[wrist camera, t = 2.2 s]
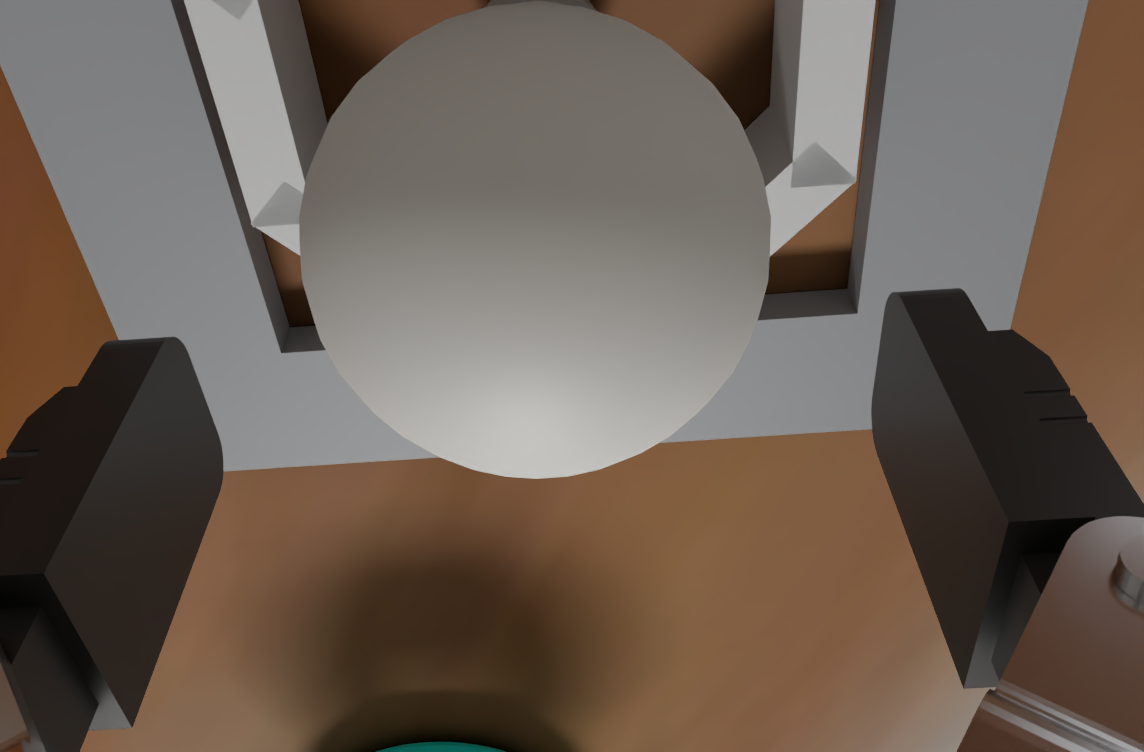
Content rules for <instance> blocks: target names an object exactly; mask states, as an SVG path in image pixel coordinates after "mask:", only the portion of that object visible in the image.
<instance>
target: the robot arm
mask: <svg viewBox="0 0 1144 752" xmlns="http://www.w3.org/2000/svg"><path fill="white" fill-rule="evenodd" d="M871 419H872V432H873V438H874V444H875V448H876V452H877V455H878V458H879V460H880V463H881V466H882V469H883V471H884V474H885V477H886V479H887V482H888V485H889V488H890V490H891V493H892V496H893V498H894V501H895V504H896V507H897V509H898V512H899V515H900V517H901V520H902V523H903V525H904V528H905V531H906V534H907V536H908V539H909V542H910V544H911V547H912V550H913V553H914V555H915V558H916V561H917V563H918V566H919V569H920V572H921V574H922V577H923V580H924V582H925V585H926V588H927V591H928V593H929V596H930V599H931V601H932V604H933V607H934V610H935V612H936V615H937V618H938V620H939V623H940V626H941V629H942V631H943V634H944V637H945V639H946V642H947V645H948V648H949V650H950V653H951V656H952V658H953V661H954V664H955V667H956V669H957V672H958V675H959V677H960V680H961V683H962V685H963V688H964V689H965V688H984V687H997V688H996V689H995V691H993V690H991V689H990V690H989V691H988V692H987V693H986V695H985V696H984V698H983V700H982V702H981V703H980V705H979V707H978V709H977V711H976V713H975V715H974V717H973V719H972V721H971V723H970V725H969V727H968V729H967V731H966V733H965V736H964V738H963V740H962V742H961V744H960V746H959V748H958V750H957V752H1144V504H1143V502H1142V501H1141V499H1140V498H1139V496H1138V495H1137V493H1136V491H1135V490H1134V488H1133V487H1132V485H1131V484H1130V482H1129V480H1128V479H1127V477H1126V476H1125V474H1124V473H1123V471H1122V469H1121V468H1120V466H1119V465H1118V463H1117V462H1116V460H1115V459H1114V457H1113V455H1112V454H1111V452H1110V451H1109V449H1108V448H1107V446H1106V444H1105V443H1104V441H1103V440H1102V438H1101V437H1100V435H1099V433H1098V432H1097V430H1096V429H1095V427H1094V426H1093V424H1092V423H1088V422H1087V415H1086V413H1085V412H1084V410H1083V408H1082V407H1081V405H1080V404H1079V402H1078V401H1077V399H1076V397H1075V396H1071V395H1070V388H1069V386H1068V385H1067V383H1066V382H1065V380H1064V379H1063V377H1062V375H1061V374H1060V372H1059V371H1058V369H1057V368H1056V366H1055V365H1054V363H1053V361H1052V360H1051V358H1050V357H1049V356H1048V355H1047V354H1045V353H1044V352H1042V351H1041V350H1040V349H1038V348H1037V347H1036V346H1034V345H1033V344H1031V343H1030V342H1029V341H1027V340H1026V339H1025V338H1023V337H1022V336H1020V335H1019V334H1018V333H1016V332H1015V331H1014V330H997V331H988V330H987V328H986V327H985V325H984V323H983V321H982V320H981V318H980V316H979V314H978V313H977V311H976V309H975V308H974V306H973V304H972V302H971V301H970V299H969V297H968V295H967V294H966V293H965V291H964V290H962V289H960V288H952V289H936V290H921V291H905V292H892V293H891V294H890V295H889V297H888V299H887V302H886V305H885V310H884V317H883V324H882V331H881V338H880V345H879V352H878V359H877V366H876V374H875V381H874V388H873V395H872V405H871ZM6 453H7V457H6V458H2V459H1V460H0V752H80V749H81V747H82V744H83V742H84V739H85V737H86V734H87V732H88V730H106V729H125V728H132V727H133V724H134V722H135V719H136V716H137V713H138V711H139V708H140V705H141V703H142V700H143V697H144V695H145V692H146V689H147V687H148V684H149V681H150V678H151V676H152V673H153V670H154V668H155V665H156V662H157V660H158V657H159V654H160V652H161V649H162V646H163V643H164V641H165V638H166V635H167V633H168V630H169V627H170V625H171V622H172V619H173V616H174V614H175V611H176V608H177V606H178V603H179V600H180V598H181V595H182V592H183V590H184V587H185V584H186V581H187V579H188V576H189V573H190V571H191V568H192V565H193V563H194V560H195V557H196V555H197V552H198V549H199V546H200V544H201V541H202V538H203V536H204V533H205V530H206V528H207V525H208V522H209V520H210V517H211V514H212V511H213V509H214V506H215V503H216V501H217V498H218V495H219V492H220V489H221V485H222V480H223V452H222V445H221V441H220V438H219V434H218V432H217V429H216V426H215V424H214V421H213V418H212V416H211V413H210V410H209V407H208V405H207V402H206V399H205V397H204V394H203V391H202V389H201V386H200V383H199V380H198V378H197V375H196V372H195V370H194V367H193V364H192V361H191V359H190V356H189V354H188V351H187V349H186V347H185V346H184V344H183V343H182V342H181V340H179V339H178V338H176V337H160V338H145V339H129V340H114V341H108V342H106V343H105V344H103V345H102V347H101V348H100V349H99V351H98V353H97V355H96V356H95V358H94V360H93V361H92V363H91V365H90V366H89V368H88V370H87V371H86V373H85V375H84V376H83V378H82V380H81V381H80V383H79V385H78V386H74V387H64V388H63V389H61V390H60V391H59V392H58V393H57V394H55V395H54V396H53V397H52V398H51V399H49V400H48V401H47V402H46V403H45V404H43V405H42V406H41V407H40V408H39V409H37V410H36V411H35V412H34V413H33V414H31V415H30V416H29V417H28V418H27V419H26V421H25V422H24V424H23V426H22V427H21V429H20V430H19V432H18V433H17V435H16V437H15V438H14V440H13V441H12V443H11V444H10V446H9V448H8V449H7V451H6Z"/></svg>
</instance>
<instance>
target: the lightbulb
mask: <svg viewBox="0 0 1144 752" xmlns="http://www.w3.org/2000/svg"><path fill="white" fill-rule="evenodd" d="M770 233H771V215H770V210H769V205H768V199H767V194H766V189H765V184H764V179H763V175H762V173H761V170H760V167H759V164H758V161H757V158H756V156H755V154H754V151H753V149H752V147H751V145H750V142H749V140H748V138H747V136H746V133H745V131H744V129H743V127H742V124H741V122H740V120H739V118H738V117H737V116H736V114H735V113H734V112H733V110H732V109H731V108H730V106H729V105H728V103H727V102H726V101H725V99H724V98H723V97H722V95H721V94H720V93H719V91H718V90H717V89H716V87H715V86H714V85H713V83H711V82H710V81H709V80H708V79H707V78H706V77H705V76H703V75H702V74H701V73H700V72H699V71H698V70H696V69H695V68H694V67H693V66H692V65H691V64H690V63H688V62H687V61H686V60H685V59H684V58H683V57H681V56H680V55H679V54H678V53H677V52H676V51H674V50H673V49H672V48H671V47H670V46H669V45H667V44H666V43H665V42H664V41H662V40H660V39H658V38H656V37H654V36H653V35H651V34H649V33H647V32H645V31H644V30H642V29H640V28H638V27H636V26H635V25H633V24H631V23H629V22H627V21H626V20H623V19H619V18H616V17H613V16H610V15H607V14H603V13H600V12H597V10H596V9H595V8H594V6H593V5H592V4H591V3H590V1H589V0H491V1H490V2H489V3H488V5H487V6H486V7H485V8H481V9H478V10H475V11H471V12H468V13H465V14H462V15H458V16H455V17H452V18H448V19H445V20H443V21H442V22H440V23H438V24H436V25H434V26H432V27H431V28H429V29H427V30H425V31H423V32H421V33H420V34H418V35H416V36H414V37H412V38H410V39H409V40H407V41H405V42H404V43H403V44H401V45H400V46H399V47H397V48H396V49H395V50H393V51H392V52H391V53H390V54H389V55H388V56H386V57H385V58H384V59H383V60H382V61H381V62H379V63H378V64H377V65H376V66H375V67H374V68H372V69H371V70H370V71H369V72H368V73H367V74H366V75H364V76H363V77H362V78H361V79H360V80H359V81H357V83H356V84H355V85H354V87H353V88H352V90H351V91H350V92H349V94H348V95H347V96H346V98H345V99H344V100H343V102H342V103H341V104H340V106H339V107H338V108H337V110H336V111H335V113H334V114H333V115H332V117H331V119H330V121H329V123H328V125H327V128H326V130H325V132H324V135H323V137H322V139H321V142H320V144H319V146H318V149H317V151H316V153H315V156H314V158H313V161H312V163H311V166H310V168H309V171H308V173H307V176H306V181H305V187H304V192H303V198H302V204H301V210H300V215H299V237H300V256H301V272H302V282H303V286H304V289H305V292H306V296H307V299H308V302H309V306H310V309H311V312H312V316H313V319H314V322H315V325H316V328H317V331H318V334H319V338H320V340H321V342H322V344H323V346H324V347H325V349H326V351H327V353H328V355H329V357H330V358H331V360H332V362H333V364H334V366H335V367H336V369H337V371H338V373H339V374H340V375H341V376H342V377H343V378H344V380H345V381H346V382H347V383H348V384H349V386H350V387H351V388H352V389H353V390H354V391H355V393H356V394H357V395H358V396H359V397H360V398H361V400H362V401H363V402H364V403H365V404H366V405H367V406H368V407H369V408H370V409H371V411H372V412H373V413H374V414H375V415H376V416H378V417H379V418H380V419H381V420H382V421H384V422H385V423H386V424H387V425H389V426H390V427H391V428H392V429H394V430H395V431H396V432H397V433H398V434H400V435H401V436H402V437H404V438H406V439H407V440H409V441H411V442H413V443H414V444H416V445H418V446H420V447H422V448H423V449H425V450H427V451H429V452H430V453H432V454H434V455H436V456H439V457H441V458H443V459H446V460H449V461H451V462H454V463H457V464H459V465H462V466H465V467H467V468H470V469H473V470H476V471H481V472H486V473H490V474H495V475H500V476H504V477H518V478H533V479H540V478H554V477H567V476H573V475H577V474H582V473H586V472H591V471H595V470H599V469H602V468H605V467H607V466H610V465H612V464H615V463H618V462H620V461H623V460H625V459H628V458H630V457H633V456H635V455H638V454H640V453H642V452H644V451H646V450H647V449H649V448H651V447H652V446H654V445H656V444H658V443H659V442H661V441H663V440H664V439H666V438H668V437H670V436H671V435H672V434H674V433H675V432H676V431H677V430H678V429H679V428H681V427H682V426H683V425H684V424H685V423H687V422H688V421H689V420H690V419H691V418H693V417H694V416H695V415H696V414H697V413H698V412H699V411H700V410H701V409H702V408H703V407H704V406H705V405H706V404H707V403H708V402H709V401H710V400H711V399H712V397H713V396H714V395H715V394H716V393H717V391H718V390H719V389H720V388H721V386H722V385H723V384H724V383H725V382H726V380H727V379H728V378H729V377H730V375H731V374H732V373H733V372H734V370H735V368H736V366H737V364H738V362H739V360H740V359H741V357H742V355H743V353H744V351H745V349H746V347H747V345H748V343H749V341H750V340H751V337H752V334H753V331H754V328H755V326H756V323H757V320H758V317H759V313H760V310H761V306H762V302H763V299H764V295H765V291H766V288H767V284H768V278H769V258H770Z"/></svg>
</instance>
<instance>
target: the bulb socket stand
mask: <svg viewBox="0 0 1144 752" xmlns="http://www.w3.org/2000/svg"><path fill="white" fill-rule="evenodd" d="M875 1H876V0H775V12H774V32H773V52H772V72H771V92H770V106H769V107H768V108H767V109H766V110H765V111H764V112H763V113H761V114H760V115H759V116H758V117H757V118H756V119H755V120H754V121H753V122H752V123H751V124H750V125H749V126H748V127H747V128H746V129H745V130H744V131H745V133H746V136H747V138H748V140H749V142H750V145H751V147H752V149H753V151H754V154H755V156H756V158H757V161H758V164H759V167H760V170H761V173H762V175H763V179H764V184H765V189H766V194H767V199H768V205H769V210H770V215H771V233H770V256H771V255H772V254H774V253H775V252H776V251H777V250H778V249H779V248H780V247H781V246H783V245H784V244H785V243H786V242H787V241H788V240H789V239H791V238H792V237H793V236H794V235H795V234H796V233H797V232H799V231H800V230H801V229H802V228H803V227H804V226H805V225H807V224H808V223H809V222H810V221H811V220H812V219H813V218H814V217H816V216H817V215H818V214H819V213H820V212H821V211H822V210H824V209H825V208H826V207H827V206H828V205H829V204H830V203H832V202H833V201H834V200H835V199H836V198H837V197H838V196H840V195H841V194H842V193H843V192H844V191H845V190H846V189H847V188H849V187H850V186H851V185H852V184H853V183H855V182H856V181H857V179H856V173H857V164H858V155H859V146H860V137H861V128H862V119H863V110H864V101H865V92H866V83H867V74H868V65H869V56H870V47H871V38H872V29H873V19H874V10H875ZM1087 4H1088V0H880V5H879V13H878V22H877V31H876V40H875V49H874V58H873V66H872V75H871V84H870V93H869V102H868V110H867V119H866V128H865V137H864V146H863V155H862V163H861V172H860V181H859V190H858V199H857V208H856V216H855V225H854V234H853V243H852V252H851V260H850V269H849V278H848V287H847V289H836V290H821V291H807V292H793V293H778V294H765V295H764V299H763V302H762V306H761V310H760V313H759V317H758V320H757V323H756V326H755V328H754V331H753V334H752V337H751V340H750V341H749V343H748V345H747V347H746V349H745V351H744V353H743V355H742V357H741V359H740V360H739V362H738V364H737V366H736V368H735V370H734V372H733V373H732V374H731V375H730V377H729V378H728V379H727V380H726V382H725V383H724V384H723V385H722V386H721V388H720V389H719V390H718V391H717V393H716V394H715V395H714V396H713V397H712V399H711V400H710V401H709V402H708V403H707V404H706V405H705V406H704V407H703V408H702V409H701V410H700V411H699V412H698V413H697V414H696V415H695V416H694V417H693V418H691V419H690V420H689V421H688V422H687V423H685V424H684V425H683V426H682V427H681V428H679V429H678V430H677V431H676V432H675V433H674V434H672V435H671V436H670V437H668V438H666V439H664V440H663V441H661V442H659V443H665V442H680V441H696V440H711V439H726V438H742V437H757V436H772V435H787V434H803V433H818V432H833V431H849V430H864V429H872V419H871V405H872V395H873V388H874V381H875V374H876V366H877V359H878V352H879V345H880V338H881V331H882V324H883V317H884V310H885V305H886V302H887V299H888V297H889V295H890V294H891V293H892V292H905V291H921V290H936V289H952V288H960V289H962V290H964V291H965V293H966V294H967V295H968V297H969V299H970V301H971V302H972V304H973V306H974V308H975V309H976V311H977V313H978V314H979V316H980V318H981V320H982V321H983V323H984V325H985V327H986V328H987V330H988V331H997V330H1010V327H1011V322H1012V318H1013V314H1014V310H1015V306H1016V301H1017V297H1018V293H1019V289H1020V285H1021V281H1022V276H1023V272H1024V268H1025V264H1026V260H1027V255H1028V251H1029V247H1030V243H1031V239H1032V234H1033V230H1034V226H1035V222H1036V218H1037V213H1038V209H1039V205H1040V201H1041V197H1042V192H1043V188H1044V184H1045V180H1046V176H1047V172H1048V167H1049V163H1050V159H1051V155H1052V151H1053V146H1054V142H1055V138H1056V134H1057V130H1058V125H1059V121H1060V117H1061V113H1062V109H1063V104H1064V100H1065V96H1066V92H1067V88H1068V84H1069V79H1070V75H1071V71H1072V67H1073V63H1074V58H1075V54H1076V50H1077V46H1078V42H1079V37H1080V33H1081V29H1082V25H1083V21H1084V16H1085V12H1086V8H1087ZM0 66H1V68H2V70H3V72H4V75H5V77H6V79H7V82H8V84H9V86H10V89H11V91H12V93H13V96H14V98H15V100H16V103H17V105H18V107H19V109H20V112H21V114H22V116H23V119H24V121H25V123H26V126H27V128H28V130H29V133H30V135H31V137H32V140H33V142H34V144H35V147H36V149H37V151H38V153H39V156H40V158H41V160H42V163H43V165H44V167H45V170H46V172H47V174H48V177H49V179H50V181H51V184H52V186H53V188H54V190H55V193H56V195H57V197H58V200H59V202H60V204H61V207H62V209H63V211H64V214H65V216H66V218H67V221H68V223H69V225H70V227H71V230H72V232H73V234H74V237H75V239H76V241H77V244H78V246H79V248H80V251H81V253H82V255H83V258H84V260H85V262H86V265H87V267H88V269H89V271H90V274H91V276H92V278H93V281H94V283H95V285H96V288H97V290H98V292H99V295H100V297H101V299H102V302H103V304H104V306H105V308H106V311H107V313H108V315H109V318H110V320H111V322H112V325H113V327H114V329H115V332H116V334H117V336H118V339H119V340H129V339H145V338H160V337H176V338H178V339H179V340H181V342H182V343H183V344H184V346H185V347H186V349H187V351H188V354H189V356H190V359H191V361H192V364H193V367H194V370H195V372H196V375H197V378H198V380H199V383H200V386H201V389H202V391H203V394H204V397H205V399H206V402H207V405H208V407H209V410H210V413H211V416H212V418H213V421H214V424H215V426H216V429H217V432H218V434H219V438H220V441H221V445H222V452H223V471H236V470H252V469H267V468H282V467H298V466H313V465H328V464H343V463H359V462H374V461H389V460H405V459H420V458H435V457H439V456H436V455H434V454H432V453H430V452H429V451H427V450H425V449H423V448H422V447H420V446H418V445H416V444H414V443H413V442H411V441H409V440H407V439H406V438H404V437H402V436H401V435H400V434H398V433H397V432H396V431H395V430H394V429H392V428H391V427H390V426H389V425H387V424H386V423H385V422H384V421H382V420H381V419H380V418H379V417H378V416H376V415H375V414H374V413H373V412H372V411H371V409H370V408H369V407H368V406H367V405H366V404H365V403H364V402H363V401H362V400H361V398H360V397H359V396H358V395H357V394H356V393H355V391H354V390H353V389H352V388H351V387H350V386H349V384H348V383H347V382H346V381H345V380H344V378H343V377H342V376H341V375H340V374H339V373H338V371H337V369H336V367H335V366H334V364H333V362H332V360H331V358H330V357H329V355H328V353H327V351H326V349H325V347H324V346H323V344H322V342H321V340H320V338H319V334H318V331H317V328H316V326H304V327H290V326H289V323H288V320H287V316H286V313H285V310H284V306H283V303H282V300H281V296H280V293H279V290H278V286H277V283H276V280H275V276H274V273H273V270H272V266H271V263H270V260H269V256H268V253H267V250H266V246H265V243H264V240H263V236H262V233H261V231H262V232H264V233H265V234H267V235H268V236H270V237H272V238H273V239H275V240H276V241H278V242H279V243H281V244H282V245H284V246H286V247H287V248H289V249H290V250H292V251H293V252H295V253H297V254H298V255H300V237H299V215H300V210H301V204H302V198H303V192H304V187H305V181H306V176H307V173H308V171H309V168H310V166H311V163H312V161H313V158H314V156H315V153H316V151H317V149H318V146H319V144H320V142H321V139H322V137H323V135H324V132H325V130H326V128H327V125H328V123H327V119H326V115H325V110H324V106H323V102H322V98H321V94H320V89H319V85H318V81H317V77H316V72H315V68H314V64H313V60H312V55H311V51H310V47H309V43H308V38H307V34H306V30H305V26H304V22H303V17H302V13H301V9H300V5H299V0H0Z"/></svg>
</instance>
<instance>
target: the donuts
mask: <svg viewBox="0 0 1144 752" xmlns="http://www.w3.org/2000/svg"><path fill="white" fill-rule="evenodd" d="M376 752H506V751H502V750H499V749H495V748H491V747H486V746H481V745H475V744H468V743H459V742H423V743H413V744H405V745H399V746H395V747H390V748H386V749H383V750H379V751H376Z"/></svg>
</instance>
